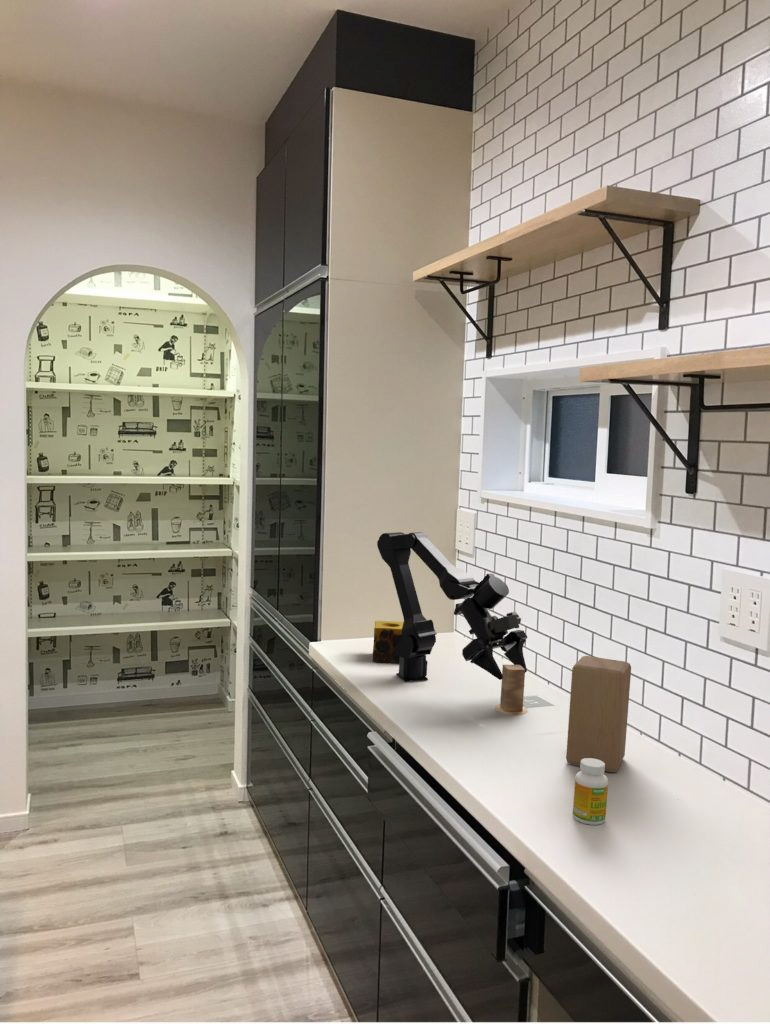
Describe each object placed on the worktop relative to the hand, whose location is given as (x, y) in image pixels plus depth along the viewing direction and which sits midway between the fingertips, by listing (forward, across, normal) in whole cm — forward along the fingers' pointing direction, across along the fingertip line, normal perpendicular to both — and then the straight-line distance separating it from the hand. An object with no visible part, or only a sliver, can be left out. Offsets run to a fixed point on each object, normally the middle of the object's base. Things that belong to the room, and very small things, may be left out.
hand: (513, 675), depth 195 cm
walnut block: (+6, 0, +6) cm, 8 cm away
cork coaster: (+6, 0, +6) cm, 8 cm away
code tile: (+5, +9, +6) cm, 12 cm away
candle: (-28, +9, +41) cm, 51 cm away
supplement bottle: (+36, -36, -24) cm, 56 cm away
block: (+27, -12, -15) cm, 33 cm away
